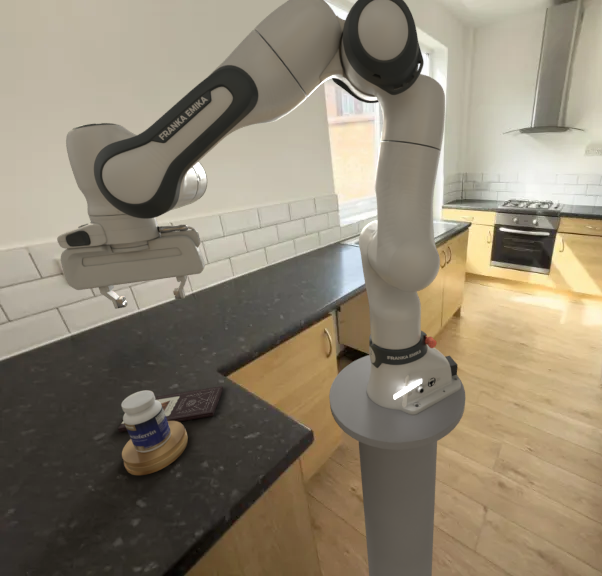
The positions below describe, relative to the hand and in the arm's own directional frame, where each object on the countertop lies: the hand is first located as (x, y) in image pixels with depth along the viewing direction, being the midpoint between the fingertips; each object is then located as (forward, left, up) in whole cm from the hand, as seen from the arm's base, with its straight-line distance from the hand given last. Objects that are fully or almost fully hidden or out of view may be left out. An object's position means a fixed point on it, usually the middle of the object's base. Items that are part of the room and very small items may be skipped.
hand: (151, 302), depth 60 cm
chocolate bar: (+3, -3, -27) cm, 27 cm away
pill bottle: (+4, +9, -24) cm, 26 cm away
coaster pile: (+4, +9, -27) cm, 29 cm away
